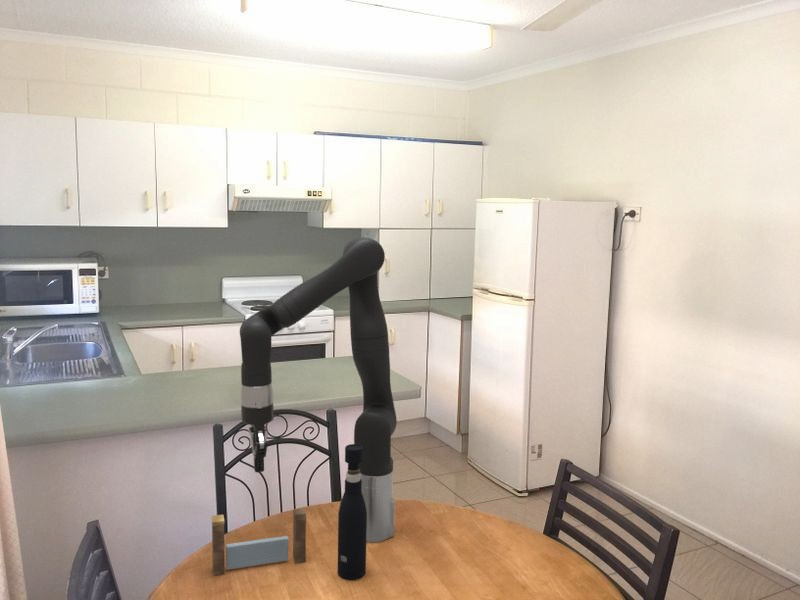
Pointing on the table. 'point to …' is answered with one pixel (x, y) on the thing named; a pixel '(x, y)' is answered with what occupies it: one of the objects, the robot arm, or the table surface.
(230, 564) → the gate
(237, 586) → the table surface
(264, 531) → the table surface
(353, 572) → the black water bottle
